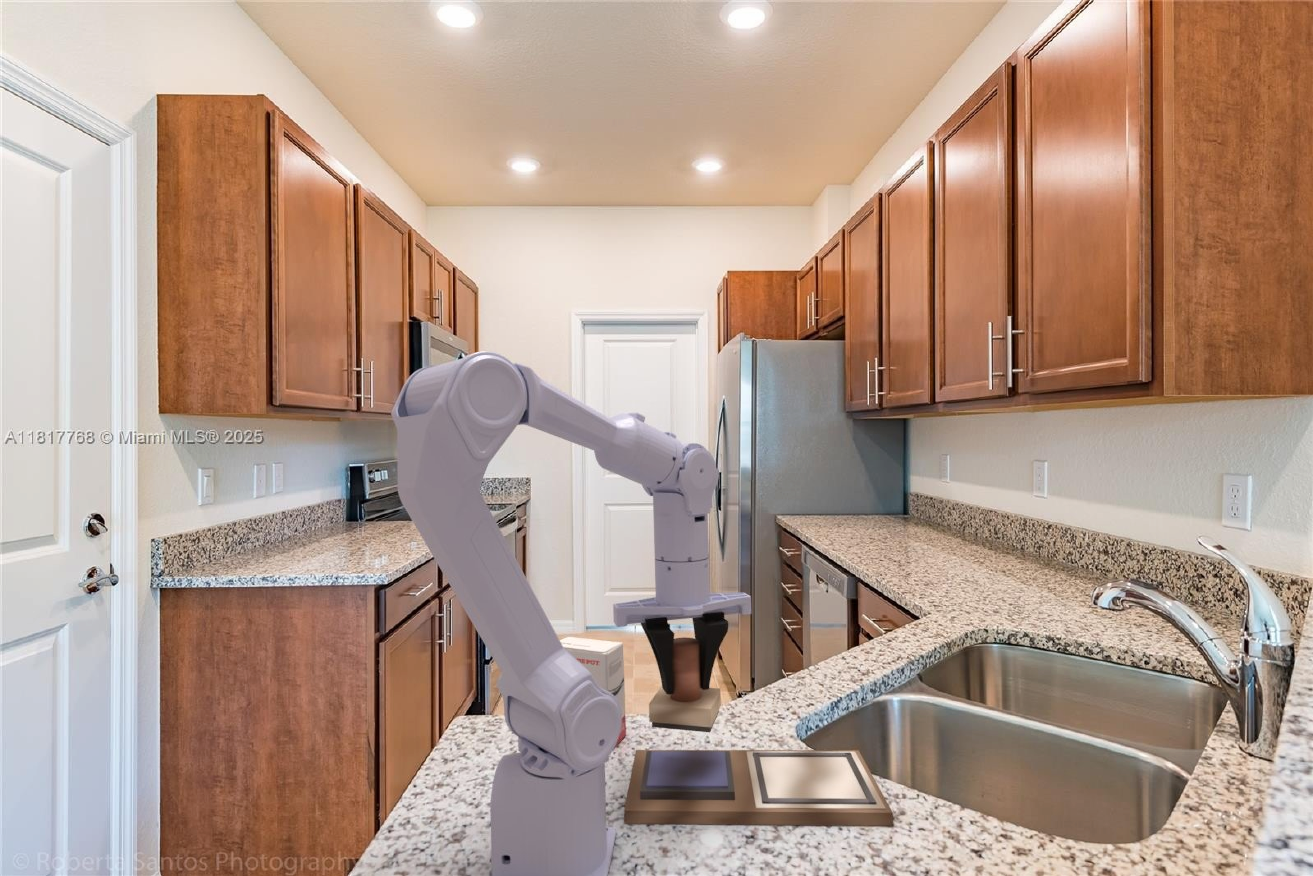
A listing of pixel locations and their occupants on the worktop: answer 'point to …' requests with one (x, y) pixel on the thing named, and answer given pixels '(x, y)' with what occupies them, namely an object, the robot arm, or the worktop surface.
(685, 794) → the desk board
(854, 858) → the worktop surface
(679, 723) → the stamp
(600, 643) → the ink box
